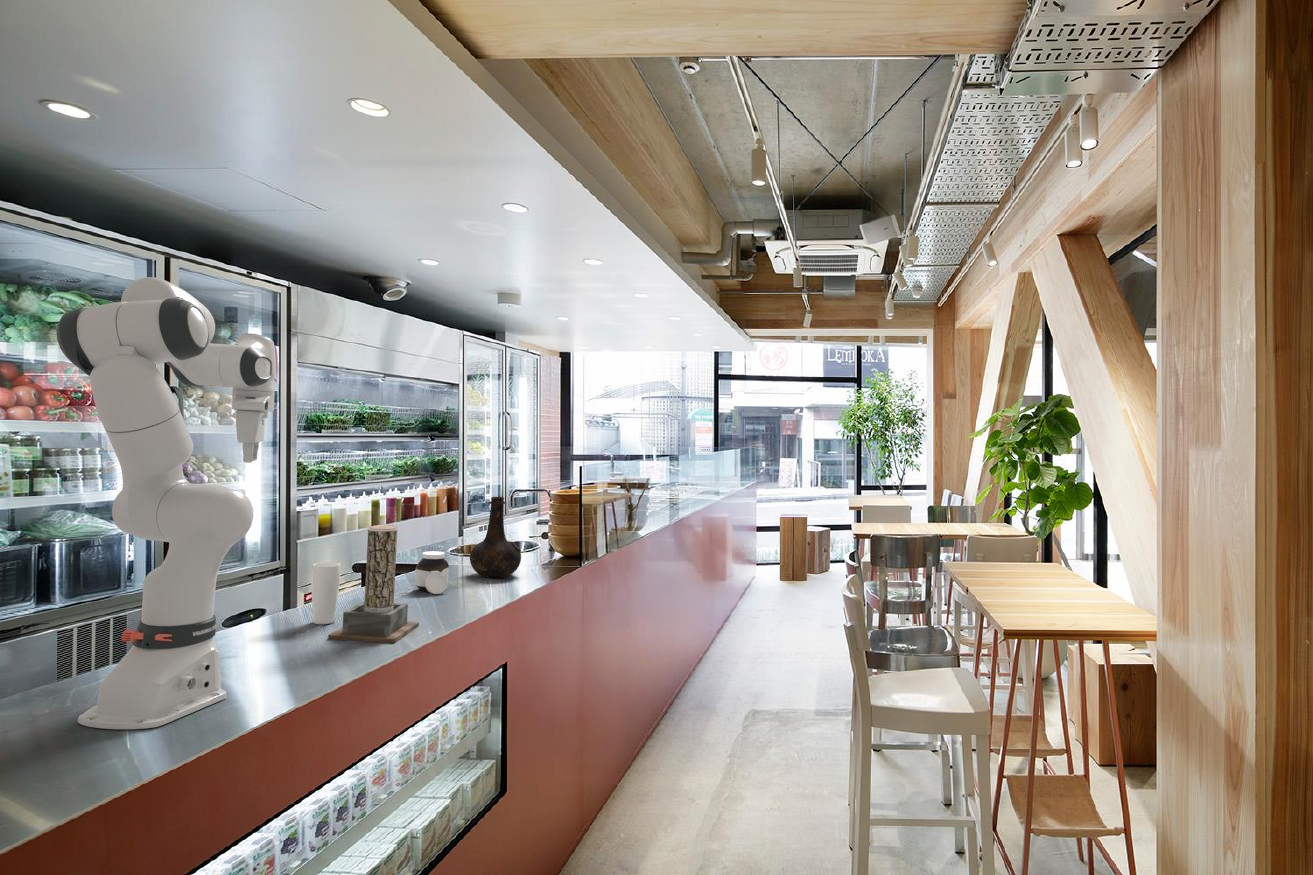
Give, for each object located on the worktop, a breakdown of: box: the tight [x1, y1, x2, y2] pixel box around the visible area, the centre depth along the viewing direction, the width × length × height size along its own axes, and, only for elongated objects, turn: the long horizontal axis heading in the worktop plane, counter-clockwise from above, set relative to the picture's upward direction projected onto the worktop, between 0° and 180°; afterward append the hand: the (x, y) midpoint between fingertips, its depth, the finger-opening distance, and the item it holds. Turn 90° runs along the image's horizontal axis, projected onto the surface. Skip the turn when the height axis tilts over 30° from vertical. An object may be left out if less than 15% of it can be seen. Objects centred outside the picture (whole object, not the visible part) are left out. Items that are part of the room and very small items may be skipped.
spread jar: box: [414, 550, 450, 595], centre depth 229 cm, size 12×11×12 cm
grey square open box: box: [327, 601, 420, 644], centre depth 180 cm, size 16×16×6 cm
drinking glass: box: [310, 561, 342, 626], centre depth 187 cm, size 7×7×15 cm
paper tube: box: [363, 525, 398, 613], centre depth 181 cm, size 7×7×25 cm
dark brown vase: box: [469, 496, 522, 579], centre depth 258 cm, size 18×18×28 cm
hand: (250, 461), depth 173 cm, fingers open, 8 cm apart
